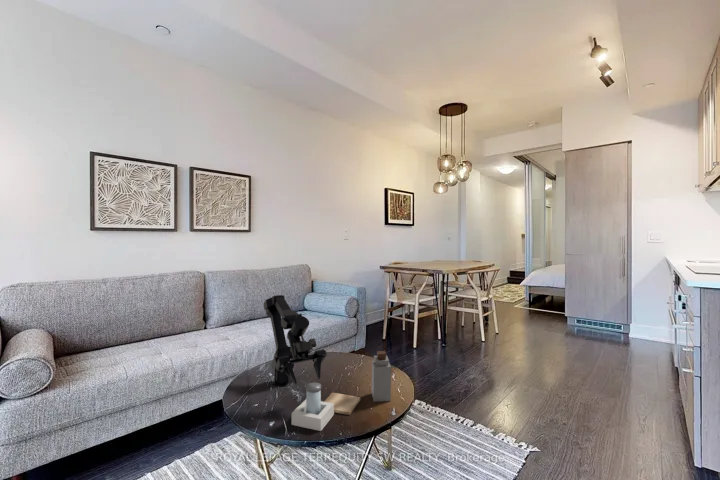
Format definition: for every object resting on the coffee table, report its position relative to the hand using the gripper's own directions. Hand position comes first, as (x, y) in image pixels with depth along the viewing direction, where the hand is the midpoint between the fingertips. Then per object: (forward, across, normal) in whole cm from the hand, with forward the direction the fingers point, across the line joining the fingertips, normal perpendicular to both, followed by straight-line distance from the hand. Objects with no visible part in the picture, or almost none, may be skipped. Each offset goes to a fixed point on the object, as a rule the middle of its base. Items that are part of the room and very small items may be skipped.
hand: (307, 381), depth 124 cm
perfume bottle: (+11, +30, +6) cm, 32 cm away
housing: (+12, 0, +5) cm, 13 cm away
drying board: (+9, +13, +8) cm, 18 cm away
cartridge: (+12, 0, +5) cm, 13 cm away
